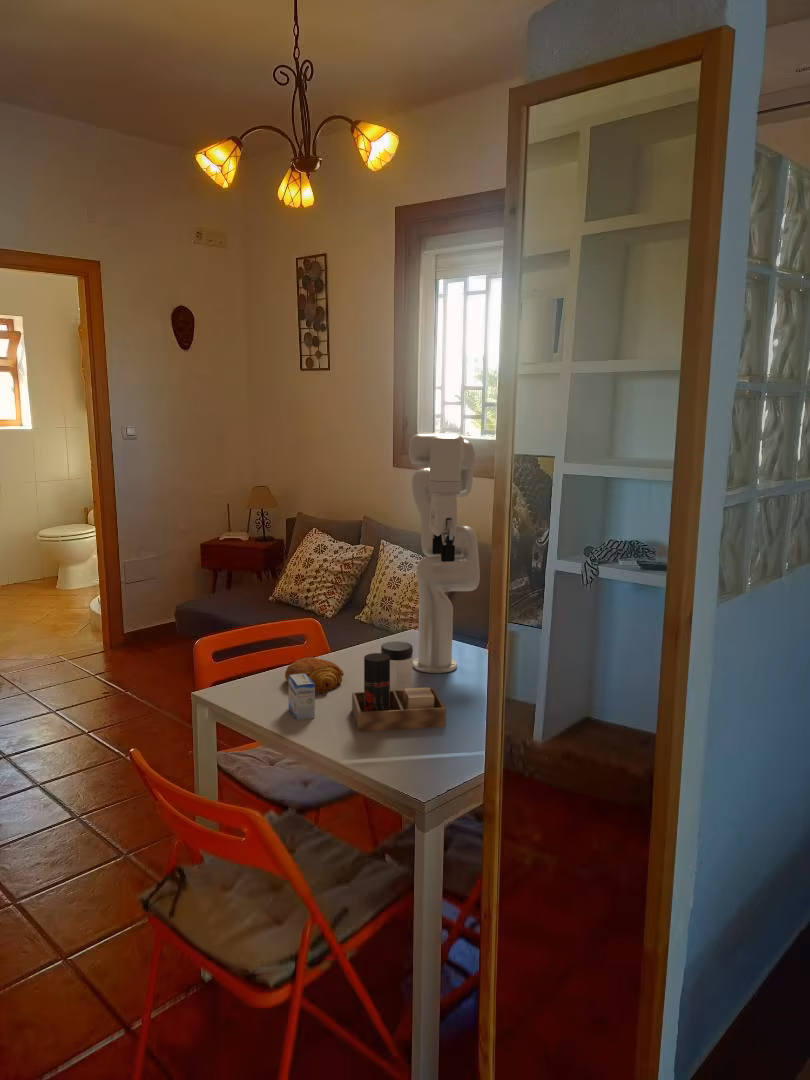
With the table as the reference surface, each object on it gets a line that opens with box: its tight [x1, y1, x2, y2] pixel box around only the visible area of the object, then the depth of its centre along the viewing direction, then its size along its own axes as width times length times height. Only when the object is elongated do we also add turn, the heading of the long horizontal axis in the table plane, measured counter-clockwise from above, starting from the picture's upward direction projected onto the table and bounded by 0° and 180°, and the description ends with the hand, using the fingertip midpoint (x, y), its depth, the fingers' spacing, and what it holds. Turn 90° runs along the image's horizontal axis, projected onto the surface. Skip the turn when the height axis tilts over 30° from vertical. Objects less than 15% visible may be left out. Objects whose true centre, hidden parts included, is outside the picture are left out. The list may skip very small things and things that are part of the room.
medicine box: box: [288, 674, 316, 721], centre depth 188 cm, size 8×4×9 cm, turn 23°
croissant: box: [284, 656, 345, 694], centre depth 208 cm, size 14×16×8 cm
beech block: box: [404, 686, 434, 710], centre depth 186 cm, size 6×6×6 cm
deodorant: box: [363, 652, 390, 712], centre depth 183 cm, size 6×6×15 cm
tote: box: [351, 687, 447, 733], centre depth 185 cm, size 20×13×5 cm, turn 100°
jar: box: [380, 641, 414, 690], centre depth 204 cm, size 9×8×12 cm
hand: (443, 557), depth 194 cm, fingers open, 9 cm apart
